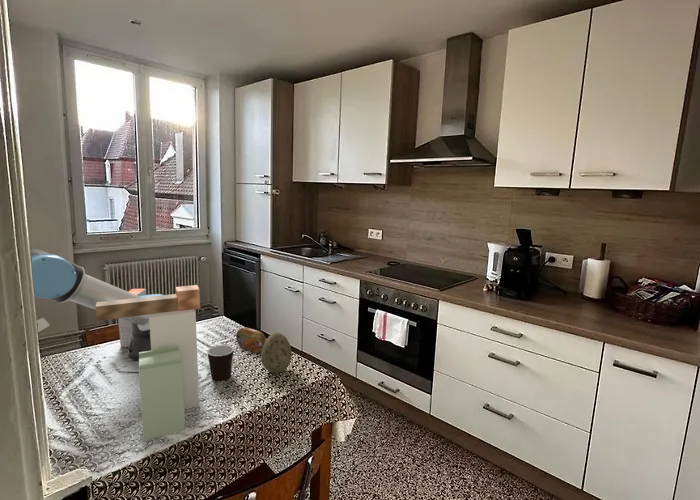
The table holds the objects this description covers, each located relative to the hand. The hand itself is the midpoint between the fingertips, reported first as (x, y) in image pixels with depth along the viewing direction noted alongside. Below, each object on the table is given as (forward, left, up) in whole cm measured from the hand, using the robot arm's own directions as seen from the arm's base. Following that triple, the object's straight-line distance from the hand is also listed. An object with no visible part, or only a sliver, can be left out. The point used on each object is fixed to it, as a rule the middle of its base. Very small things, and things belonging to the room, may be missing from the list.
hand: (40, 330), depth 98 cm
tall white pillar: (-15, +27, -29) cm, 42 cm away
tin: (-55, +39, -29) cm, 73 cm away
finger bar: (-13, +22, +1) cm, 25 cm away
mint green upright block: (-4, +29, -29) cm, 41 cm away
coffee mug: (-33, +35, -29) cm, 56 cm away
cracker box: (-57, -11, -29) cm, 65 cm away
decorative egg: (-37, +53, -29) cm, 71 cm away
